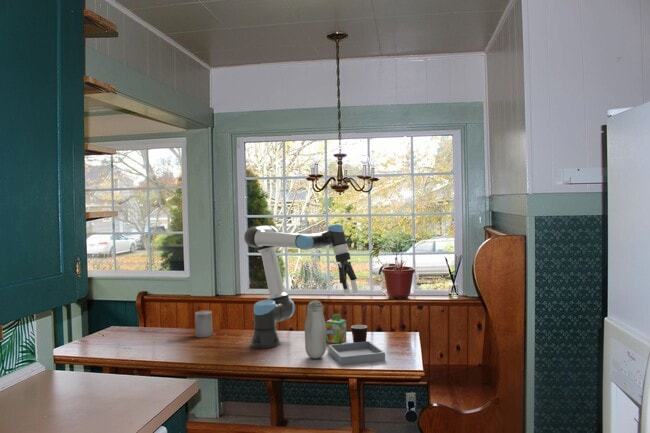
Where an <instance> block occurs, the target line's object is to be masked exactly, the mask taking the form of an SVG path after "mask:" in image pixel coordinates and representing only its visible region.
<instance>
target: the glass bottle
mask: <svg viewBox="0 0 650 433" xmlns="http://www.w3.org/2000/svg"><path fill="white" fill-rule="evenodd" d="M306 309H307V310H306V317H305V322H304V346H305V347H304V349H305V352H306V353H305V354H306V355H307V356H308V357H309V358H311V359H320V358H322V357H323V356H324V354H325V353H326V349H327V342H326V321H325V320H326V319H325V316H324V310H323V309H324V308H323V304H322V303H321V301H320V300H316V299H315V300H312V301H310V302H309V303H308V305H307V308H306Z"/></svg>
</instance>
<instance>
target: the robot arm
mask: <svg viewBox="0 0 650 433" xmlns="http://www.w3.org/2000/svg"><path fill="white" fill-rule="evenodd" d="M243 238H244V239H243V240H244V242H245V244H246V245H247V246H249V247H251V248H256V249H257V253H260V255H261V260H262V263H263V268H264V274H265V278H266V283H267V288H268V293H269V296H268V297H267V299H263V300H259V301H257V302H255V303H254V304H253V328H254V329H253V330H254V331H253V334H252V337H251V343H250V345H251V347H252V348H255V349H270V348H272V349H273V348H275V347H276V348H277V347H278V346H279V345H280V338H279V334H278V332H277V323H279V322H282V321H286V320H288V319H290V318H291V317H292V316H293V315H294V313H295V309H296V308H295V303H294V301H293V300H292V299H291V298H290V297H289V293H287V292H286V291H285V288H284V287H285V286H284V282H283V278H282V273H281V267H280V263H279V258H278V253H277V250H278V248H292V249H300V250H301V251H302V250H306V251H307V250H311V249H316V250H317V249H321V248H323V247H324V248H325V247H327V246H332V249H333V253H334V255H335V262H336V263H337V265H338V266H337V267H338V277H339V283H340V284H341V285H342V289H343V293H344V296H345V297H347V296H351V291H350V287H351V290H352V293H353V294H354V293H359V289H358V284H357V279H358V277H357V276H356V274H355V270H354V269H353V266H352V262H351V261H349V260H351V254H350V252H349V245H348V244H347V240H346V234H345V230H344V228H343V225H342V224H341V223H339V222H338V223H333V224H330V225H329V226H327V230H326V231H322V232H317V233H297V232H296V233H295V232H293V233H291V232H279V230H278V229H277V227H274V226H273V225H257V226H251V227H249V228H247V229H246V230H245V233H244V236H243ZM347 276H348V278H349V280H350V281H349V282H350V285H351V286H350V287H349V282H348V281H347Z"/></svg>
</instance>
